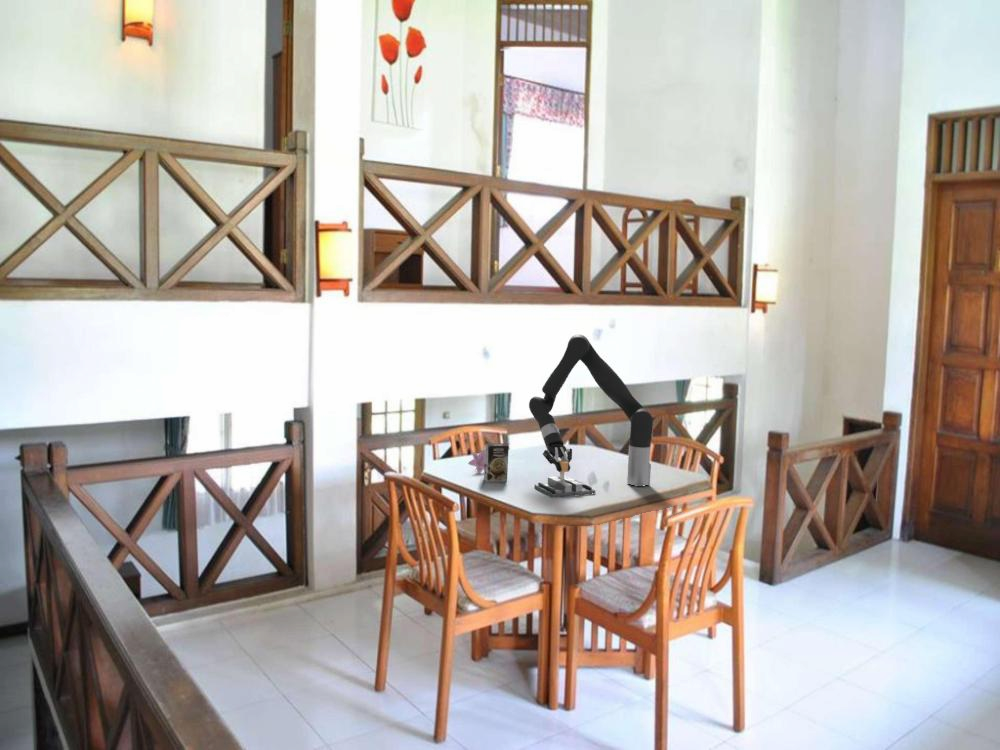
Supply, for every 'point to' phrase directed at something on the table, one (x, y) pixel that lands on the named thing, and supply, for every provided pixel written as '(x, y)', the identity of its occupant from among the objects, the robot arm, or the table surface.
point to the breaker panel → (559, 494)
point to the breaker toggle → (563, 468)
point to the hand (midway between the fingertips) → (564, 470)
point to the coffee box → (496, 462)
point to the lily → (478, 461)
